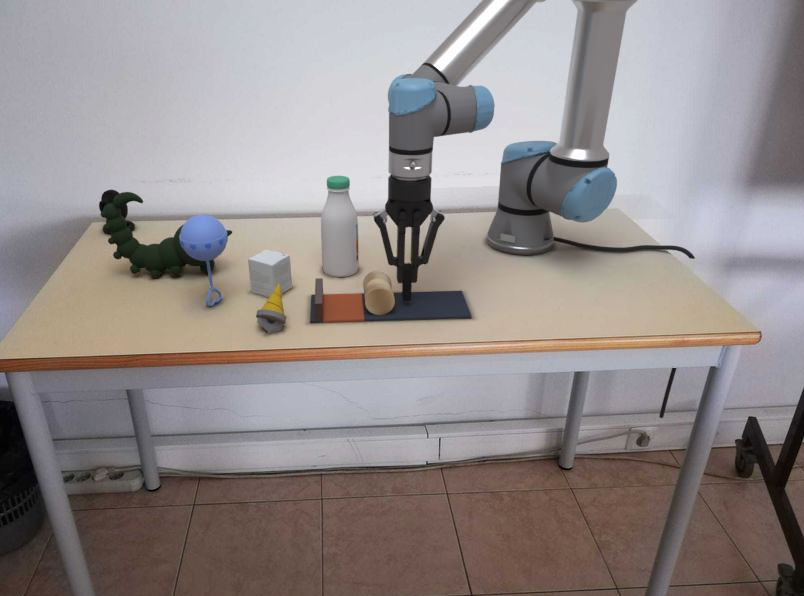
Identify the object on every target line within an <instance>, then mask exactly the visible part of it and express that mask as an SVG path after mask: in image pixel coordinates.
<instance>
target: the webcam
mask: <svg viewBox="0 0 804 596" xmlns="http://www.w3.org/2000/svg"><path fill="white" fill-rule="evenodd" d="M120 193H121V192H119V191H117V190H115V189H107V190H105V191H104V192H102V194H101V197H100V198H101V199H100V201H99V203H98V209H99V211H100V213H101V212H103V208H104V207H105V206H106V205H107V204H114V203H113V200H114V197H115V196H116V195H118V194H120ZM120 210H121V215H122V216H123V217H124V218H125V219H126V218H127V217H128V214H129V208H128V203H127V204H126V205H125V206H124V207H122V208H120ZM126 223H127V226H126V227H128V228H129V229H130V230H131V231H132V232H133V231H134V230H135V228H136V225H135V223H134V222H133V221H131V220H127V219H126ZM102 231H103V233H105V234H106V235H109V236H111V231H110V230H105V228H104V225H103V226H102Z"/></svg>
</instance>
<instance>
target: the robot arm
mask: <svg viewBox="0 0 804 596" xmlns="http://www.w3.org/2000/svg"><path fill="white" fill-rule="evenodd" d="M570 1H571V3H572V4H573V5H574V6H575V8H576V11H577V12H576V18H575V19H576V20H575V24H574V25H575V26H574V32H573V40H572V47H571V54H570V61H569V67H568V68H569V69H568V76H567V81H566V82H567V83H566V90H565V96H564V104H563V111H562V119H561V123H560V124H561V125H560V132H559V137H558V138H559V139H558V142H555V141H550V140H525V141H518V142H517V141H516V142H513V143H510V144H508V145H506V146H505V148H504V149H503V151H502V157H501V162H500V172H499V186H498V198H497V199H498V201H497V209H496V211H495V214H494V216H493V219H492V221H491V223H490V225H489V228H488V229H487V233H486V243H487V245H488V246H489V247H490V248H492V249H494V250H496V251H499V252H501V253H505V254H511V255H517V256H533V255H541V254H544V253H547V252H549V251H551V249H553V247H554V243H555V242H556V243H561V244H565V245H569V246H573V247H576V248H580V249H587V250H593V251H601V252H611V253H612V252H614V253H625V252H626V253H627V252H635V251H642V250H656V251H675V252H680V253H683V254H684V255H685V256H686V257H688V259H692V260H695V259H696V257H695V255H694V254H693V253H692V252H691V251H689V250H688V249H687V248H685V247H682V246H679V245H667V244H666V245H659V244H658V245H657V244H655V245H654V244H643V245H640V244H639V245H634V246H625V247H623V246H621V247H617V246H602V245H595V244H587V243H582V242H579V241H578V242H577V241H574V240H570V239H566V238H561V237H557V236H555V234H554V230H553V225H552V219H551V215H550V213H552V214H554V215H556V216H559V217H562V218H563V219H565V220H568V221H573V222H576V223H588V222H592V221H594V220H596V219H597V218H598V217H600V216H601V215H602V214H603V213H604V212H605V211H606V210H607V209H608V207H609V206H610V204H611V203H612V201H613V199H614V197H615V194H616V192H617V188H618V179H617V176H616V173H615V172H614V171H613V170H612V169H611V168H609V167H608V166H609V159H610V152H609V151H608V150H607V148H606V147H605V146H604V143H605V137H606V132H607V126H608V120H609V114H610V108H611V103H612V98H613V97H612V96H613V91H614V86H615V79H616V76H617V75H616V74H617V69H618V63H619V57H620V52H621V46H622V39H623V34H624V29H625V22H626V17H627V12H628V11H629V9H630V8H631V7H633V6H634V5H635V4H636V3H637V2H638V0H570ZM544 2H546V0H481V1H480V2H479V3H478V5H476V7H474V9H473V10H472V11H471V12H470V13H469V14H468V15H467V16H466V17H465V18H464V19H463V20H462V21H461V22H460V23H459V25H458V26H457V27H456V28H454V30H453V31H451V33H450V34H449V35H448V36H447V37H446V38H445V39H444V40H443V42H442V43H440V44H439V46H438V47H437V48H436V49H435V50H434V51H433V52H432V53H431V54H430V56H428V57H427V58H426V60H425V61H424V62H423V63H422V64H421V65H420V66H419V67H418V68H417V69H416V70H414V72H413V73H403V74H400V75H398V76H396V77H395V78H394V79H393V80H392V81H391V83H390V85H389V87H388V92H387V101H388V102H387V103H388V109H387V110H388V162H387V165H388V166H387V167H388V169H387V172H388V174H390V175H389V176H388V178H387V200H386V203H385V205H384V208H383V209H381V210H380V211H375V212H374V213H373V214H372V216H373V221H374V223H375V224H376V226H377V227H378V228H379V233H380V236H381V239H382V243H383V248H384V251H385V256H386V260H387V264H388V265H389V266H390V267H391V266H395V267H396V281H397V284H401V292H402V297H403V301H411V292H412V288H413V287H412V286H413V284H417V282H418V281H419V280H418V277H419V276H418V275H419V268H420V266H423V265H424V266H427V264H429V260H430V258H431V253H432V251H433V248H434V244H435V241H436V237H437V235H438V231H439V229H440V227H441V225H442V224H443V223H444V221H445V219H446V216H445V214H444V212H443V211H442V210H438V209H436V208H434V205H433V201H432V199H431V198H432V195H431V194H432V176H431V174H432V172H433V150H434V140H435V138H436V137H437V138H439V137H444V136H451V135H460V134H467V133H469V134H472V133H474V132H478V131H481V130H482V131H483V130H484V129H486V128H488V127H489V125H490V124H491V123H492V121H493V119H494V117H495V107H496V106H495V99H494V96H493V94H492V93H491V91H490V90H489V89H488V88H487V87H486V86H484V85H473V84H470V85H466V86H459V85H460V84H461V83H462V82H463V81H464V80H465V79H466V78H467V76H468V75H469V74H470V73H471V72H472V71H473V70H474V69H475V68H476V67H477V66H478V65H479V64H480V63H481V62H482V61H483V60H484V59H485V58H486V56H487V55H489V53H490V52H491V51H492V50H493V49H494V48H495V47H496V46H497V45H498V44H499V43H500V42H501V40H503V38H504V37H505V36H506V35H507V34H508V33H509V32H511V30H512V29H513V28H514V27H515V26H516V25H517V24H518V23H519V22H520V21H521V20H522V19H523V17H524V16H525V15H526V14H528V12H529V11H530V10H531V9H532V8H533V7H534V6H535V5H536V4H537V3H544ZM388 217H389V218H390V219H391V221H392V222H393V223H394V225H396V229H397V232H396V256H394V252H393V249H392V245H391V240H390V236H389V232H388V228H387V225H386V224H387V222H388ZM428 217H429V220H430V222H429V225H428V228H427V232H426V235H425V238H424V241H423V245H422V248H421V253H420V234H421V226H422V225H423V224H424V222H425V221H426V220H427V219H428ZM407 228H410V230H411V231H410V236H411V237H410V262H405V259H406V257H405V256H406V233H407V231H406V230H407ZM419 254H420V255H419ZM677 368H678V367H677ZM677 368H672V367H671V370H670V374H669V378H668V381H667V385H666V388H665V392H664V395H663V400H662V403H661V407H660V412H659V415H658V416H659V418H660V419H663V418H664V417H665V412H666V408H667V405H668V401H669V396H670V393H671V389H672V384H673V382H674V379H675V375H676V372H677Z"/></svg>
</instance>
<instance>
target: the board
mask: <svg viewBox="0 0 804 596" xmlns="http://www.w3.org/2000/svg"><path fill="white" fill-rule="evenodd" d="M314 282H315V283H314V284H315V285H314V294H310V312H309V313H310V314H309V323H310V324H318V323H319V324H325V323H349V322H350V323H356V322H360V323H361V322H391V321H393V322H394V321H395V322H396V321H423V320H424V321H425V320H427V321H429V320H459V319H460V320H462V319H463V320H464V319H472V317H473V316H472V313H471V311H470V308H469V306H468V303H467V301H466V298H465V295H464V293H463V291H462V290H441V291H439V290H434V291H433V290H432V291H411V301H403V297H402V291H397V292H395V291H393V293H394V298H395V304H394V307H393V309H392V310H391V311H390V312H388V313H386V314H384V315H375V314H373V313H371V312H370V311H369V310H368V309H367V308H366V305H365V297H364V292H362V293H361V292H360V293H359V292H357V293H327V294H325V293H324V278H323V277H320V278H319V277H318V278H315V281H314Z"/></svg>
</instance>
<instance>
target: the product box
mask: <svg viewBox="0 0 804 596" xmlns="http://www.w3.org/2000/svg"><path fill="white" fill-rule="evenodd" d="M247 263H248V271H249V272H248V273H249V281H250V292H251V293H252V294H256V295H258V296H259V295H260V296H264V297H267V298H269V297H270V295H271V294H272V292H273V291H274V289H275V288H276V286H277V285H278V284H279V283H280V288H281V295H282V294H284V293H286V292H287V291H289V290H290V289H292V288H293V279H292V266H291V265H292V264H291V255H290V254H288V253H285V252H284V253H283V252H279V251H275V250H272V249H264V250H263V251H261V252H259V253H257V254H255V255H253V256H251V257H249V258H248V259H247Z"/></svg>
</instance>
